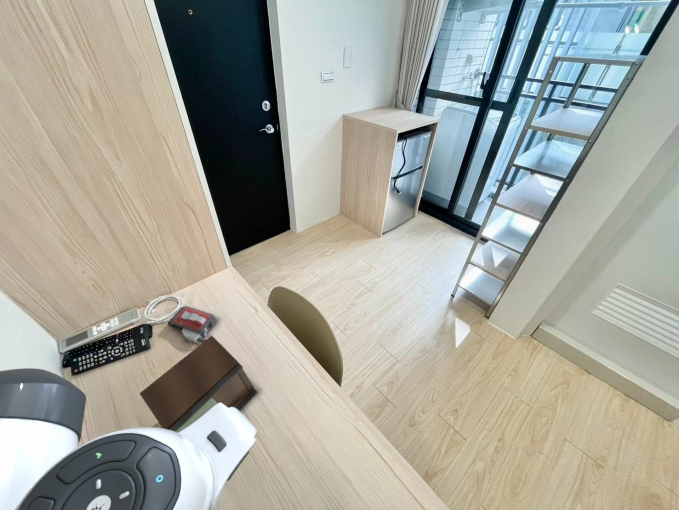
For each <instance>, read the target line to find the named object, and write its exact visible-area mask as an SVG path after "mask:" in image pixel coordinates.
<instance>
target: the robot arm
mask: <svg viewBox="0 0 679 510" xmlns="http://www.w3.org/2000/svg"><path fill="white" fill-rule="evenodd" d="M86 403H87V396H86V394H85V392H83V391H82V390H81V389H80V388H78V386H76V385H75V384H74V383H72V382H71V381H69V380H68V379H66V378H64V377H63V376H60V375H58V374H57V373H54V372H52V371H49V370H46V369H43V368H33V367H32V368H31V367H29V368H28V367H27V368H12V369H5V370H0V510H214V509H215V507H216V505H217V503H218V502H219V500H220V497H221V495H222V493H223V491H224V490H225V487H226V485H227V484H228V483H229V481H230V480H231V479H232V477H233V476H234V474H235V473H236V471H237V470H238V469H239V467H240V466H241V464H242V463H243V462H244V460H245V459H246V458H247V457H248V455H249V454H250V452H251V451H252V449H253V448H254V446H255V444H256V438H255V437H256V436H257V433H258V429H257V428H256V427H255V426H254V425H253V423H252V422H251V421H250V420H249V419H248V418H247V417H246V416H245V415H244V414H243V413H242V412H241V411H239V410H238V409H236V408H235V407H229V408H228V407H227V406H225V405H224V404H223V403H218V404H216V405H215V406H213V407H212V408H211V409H210V410H208V411H207V412H205V413H204V414H203V415H202V416H201V417H199V418H198V419H197V420H195V421H194V422H193V423H191V424H190V425H189V426H188V427H186V428H185V429H183V430H182V431H180V432H178V433H177V432H175V431H172V430H168V429H164V428H162V427H154V426H140V427H130V428H123V429H118V430H113V431H111V432H108V433H105V434H102V435H99V436H97V437H95V438H92V439H90V440H88V441H86V442H83V443H82V444H81V445H79V443H80V442H81V439H82V433H83V432H82V431H83V425H84V417H85V410H86Z"/></svg>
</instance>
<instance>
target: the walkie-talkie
mask: <svg viewBox="0 0 679 510" xmlns="http://www.w3.org/2000/svg"><path fill="white" fill-rule="evenodd" d="M216 324H217V318H216V316H215V315H214V314H213V313H209V312H206V311H203V310H199V309H197V308H194V307H191V306H188V305H184V306H181V307H180V308H179V309H178V310H177V311H176V312H175V313H174V314H173V316H172V317H171V318H170V320H169V321H167V325H168V326H169V327H171V328H174V329H177V330H179V331H180V332H181V333H182V334H183V337H184V338H185V339H186V340H188V341H191V342H193V343H195V344H199V343H203V342H204V341H205V340H207V339H206V338H205V337H207V336H208V333H209V331H210V330H211V329H212V328H213V327H215V326H216Z"/></svg>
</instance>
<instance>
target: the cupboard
mask: <svg viewBox="0 0 679 510" xmlns="http://www.w3.org/2000/svg"><path fill="white" fill-rule="evenodd" d="M257 394H259V392H258V391H257V389H255V387H254V385H253V383H252V382H251V381H250V379H249V377H248V375H247V374H246V372H245V370H244V367H243V365H242V364H241V363H240V362H239V361H238V360H237V359H236V358H235V357H234V356H233V355H232V354H231V353H230V352H229V351H228V350H227V348H225V347H224V346H223V344H221V343H220V341H218V340H217V339H216V338H215V337H214V336H213V335H210V336H209V337H208V338H207V339H206V340H205V341H204V342H201V344H199V345H198V346H196V348H194V349H193V350H192V351H190V352H189V353H187V354H186V355H185V356H184V357H183V358H182V359H181V360H179V361H178V362H177V363H176V364H174V365H173V366H171V368H169V369H168V370H167V371H166V372H164V373H163V374H162V375H160V376H159V377H158V378H156V380H154V381H153V382H151V384H149V385H148V386H147V387H145V388H144V389H143V390H142V391H141V392H139V395H140V397H141V398H142V400H143V402H144V403H145V404H146V406H147V407H148V409H149V410H150V412H151V413H152V415H153V416H154V418H155V419H156V420H157V422H158V424H159V425H160V426H161V428H164V429H168V430H172V431H175V432H176V431H177V430H178V429H179V428H180V427H181V426H182V425H183V424H185V423H186V422H187V421H188V420H189V419H190V418H191V417H192V416H193V415H194V414H195V413H196V412H197V411H198V410H199V409H200V408H201V407H202V406H204V405H205V404H206V403H207V402H208V401H209V400H210V399H211V398H213V399H214V400H215V401H216V402H217V403H223V404H224V405H225V406H227V407H228V408H229V407H235V408H236V409H238V410H239V411H240V412H241V411H242V410H243V409H244V408H245V407H246V406H247V405H248V404H249V403H250V402H251V401H252V399H253V398H254V397H255V396H257Z"/></svg>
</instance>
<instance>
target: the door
mask: <svg viewBox="0 0 679 510" xmlns="http://www.w3.org/2000/svg"><path fill="white" fill-rule="evenodd" d="M216 404H218V403H217V402H216V401H215V400H214V399H213V398H211V399H210V400H209V401H208V402H207V403H206V404H205V405H204V406H202V407H201V408H200V409H199V410H198V411H197V412H196V413H195V414H194V415H193V416H192V417H191V418H190V419H189V420H188V421H187V422H186V423H185V424H183V425H182V426H181V427H180V428H179V429H178V430H177V431H176V432H177V433H178V432H180V431H182V430H183V429H185V428H186V427H188V426H189V425H190V424H191V423H193V422H194V421H195V420H197V419H198V418H199V417H201V416H202V415H203V414H204V413H205V412H207V411H208V410H210V409H211V408H212V407H213V406H215V405H216Z"/></svg>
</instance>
